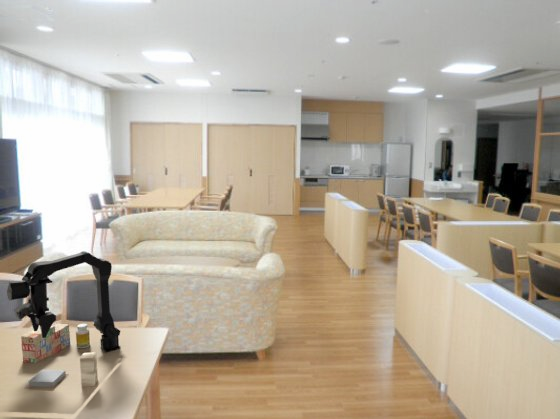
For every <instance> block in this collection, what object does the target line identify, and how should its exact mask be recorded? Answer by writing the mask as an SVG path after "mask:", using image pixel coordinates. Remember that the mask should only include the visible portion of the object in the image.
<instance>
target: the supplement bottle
mask: <svg viewBox="0 0 560 419" xmlns="http://www.w3.org/2000/svg"><path fill="white" fill-rule="evenodd" d="M76 327H77V328H76V330H75V339H76V347H77V348H78V349H86V348H88V347H89V346H90V345H91V342H90V341H91V340H90V330H89V328H88V324H87V323H80V324H78V325H77V326H76Z"/></svg>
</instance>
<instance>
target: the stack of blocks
mask: <svg viewBox="0 0 560 419" xmlns="http://www.w3.org/2000/svg"><path fill="white" fill-rule="evenodd" d="M20 338H21V352H22V353H21V354H22V362H24V363H34V364H35V363H36V364H37V363H39V362H40V361H42V360H43V359H45V358H46V357H52V356H54V355H56V354H58V353H59V352H60V351H62V350H63V349H65V348H66V347H68V346H70V345H71V334H70V325H69V324H67V323H56V324H52V326H51V328H50V330H49V332H48V334H47V336H46V338H42V334H41V329H40V326H39V327H38V330H37V331H34V329H32V330H30V331H28V332H26V333H24V334H22V335H21V337H20Z"/></svg>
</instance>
